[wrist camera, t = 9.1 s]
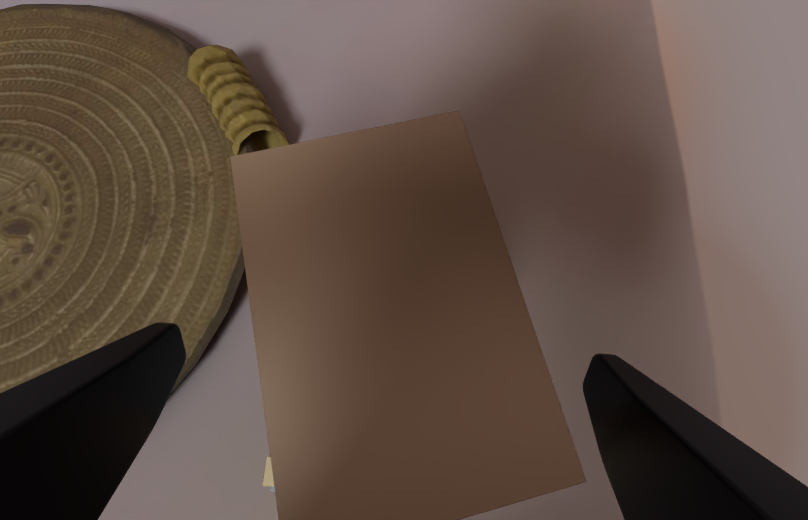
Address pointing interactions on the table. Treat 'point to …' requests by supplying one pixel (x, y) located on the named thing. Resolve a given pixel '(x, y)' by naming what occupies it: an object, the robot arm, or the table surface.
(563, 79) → the table surface
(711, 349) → the table surface
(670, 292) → the table surface
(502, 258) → the wooden box
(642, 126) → the table surface
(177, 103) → the decorative disc
